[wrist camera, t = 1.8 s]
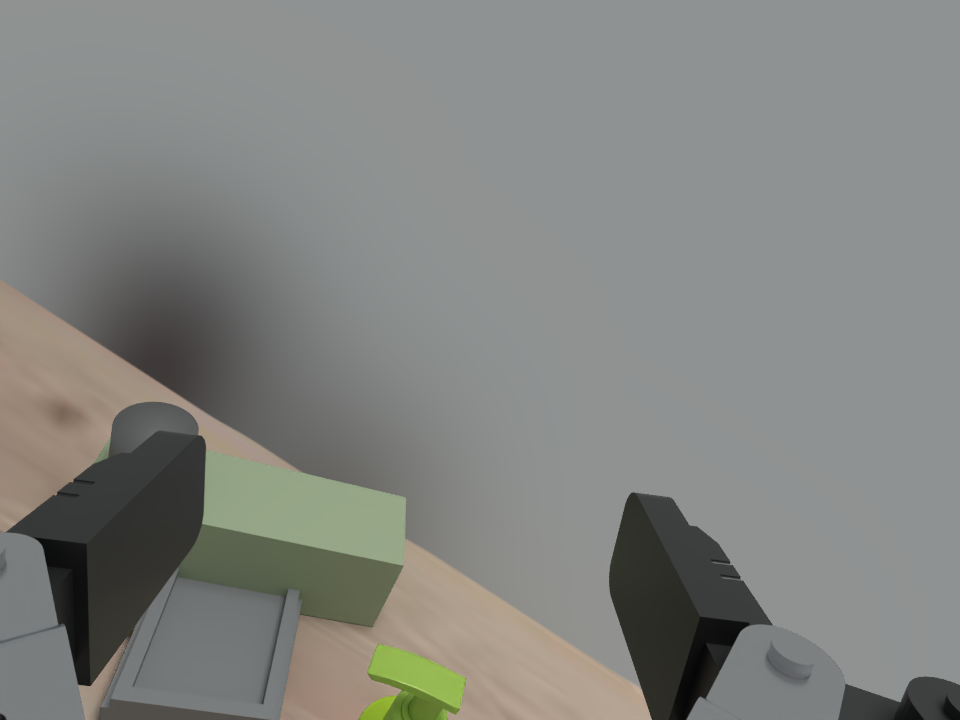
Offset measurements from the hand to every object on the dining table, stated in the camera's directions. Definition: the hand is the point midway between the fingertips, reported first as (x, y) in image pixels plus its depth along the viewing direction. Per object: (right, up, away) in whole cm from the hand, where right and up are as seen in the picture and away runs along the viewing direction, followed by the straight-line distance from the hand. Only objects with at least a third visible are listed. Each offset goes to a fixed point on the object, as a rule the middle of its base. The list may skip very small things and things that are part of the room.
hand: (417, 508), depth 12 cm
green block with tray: (-21, -19, +42) cm, 50 cm away
